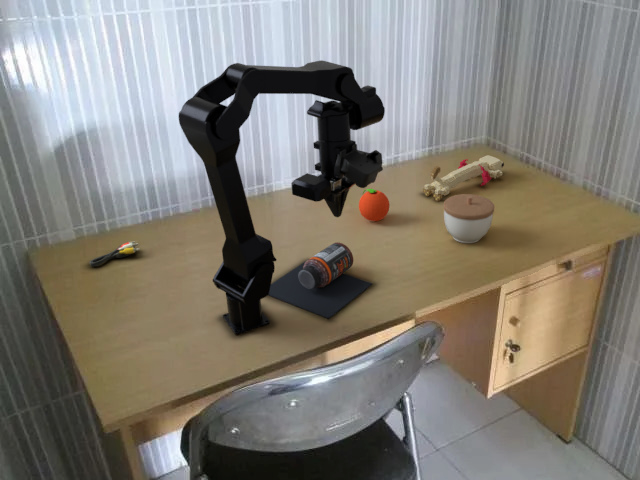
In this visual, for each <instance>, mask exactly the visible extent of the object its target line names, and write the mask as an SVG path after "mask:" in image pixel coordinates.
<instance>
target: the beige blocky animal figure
mask: <svg viewBox="0 0 640 480" xmlns="http://www.w3.org/2000/svg"><path fill="white" fill-rule="evenodd" d="M467 161H469V159H468V158H465V159H462V161H460V162H459V166H458V167H457V169H455V170H453V171H451V172H449V173H447V175H445V176H442V177H440V176H439V174H440V172H441V167H440V166H438V165H436V166H433V168H432V171H431V173H430V179H431V180H432V181H433V182H431V183H430V184H429V183H426V184H424V188H422V192H423V193H424V196H425V197H430V196H431V195H432V194H433V195H432V196H433V198H434V201H436V202H439V201H441V200H443V196H448V195H449V194H450V190H451V189H454V188H456V187H457V186H459V184H462V183H464V182H466V181H468V180H469V179H475V178H476V177H478V176H481V177H482V181H481V184H479V187H484V186H486V185H487V184H488V183H489V182H490V181H491V180H492V178H494V180H496V179H497V178H499V177H502V176H503V171H502V169H503V168H504V167H505V163H504V161H502V160H501V159H500V158H497V157H495V156H492V155H484V156H483V157H480V158H478V160H475V161H473V162H472V163H467ZM433 191H434V193H433Z"/></svg>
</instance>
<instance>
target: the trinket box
mask: <svg viewBox="0 0 640 480" xmlns="http://www.w3.org/2000/svg"><path fill="white" fill-rule="evenodd" d="M494 212H495V204H494V203H493V201H492V200H490V199H489V198H487V197H485V196H482V195H479V194H471V193H470V194H469V193H461V194H455V195H452V196H449V197H447V198H446V199H445V200H444V201H443V219H444V220H443V221H444V226H445V228H446V230H447V233H448V234H449V235H450V236H451V237H452V238H453V240H454V241H456V242H458V243H461V244H474V243H477V242H479V241H481V239H482V238H483V237H485V236H486V235H487V233H488V232H489V230H490V228H491V226H492V224H493V223H492V222H493V218H494Z"/></svg>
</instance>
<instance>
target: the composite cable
mask: <svg viewBox="0 0 640 480" xmlns="http://www.w3.org/2000/svg"><path fill="white" fill-rule="evenodd" d="M135 242H136V241H135V240H134V241H127V242H125V243H123V244H121V245H119V246H118V247H117V248H115V249H114V250H113V251H110V252H109V253H106V254H103V255H101V256H97V257H95V258H93V259H91V260H90V261H89V265H90V267H98V266H100V265H102V264H103V263H104V264H105V262H107V261H109V260H112V259H117V258H118V259H119V258H120V259H121V258H122V259H123V258H126V257H130V256H132V255H133V254H134V253H136V252H138V251H140V250H141V249H140V248H135V247H136V246H137V247H138V246H139V243H138V242H137V243H135Z"/></svg>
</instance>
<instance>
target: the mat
mask: <svg viewBox="0 0 640 480" xmlns="http://www.w3.org/2000/svg"><path fill="white" fill-rule="evenodd" d="M306 261H307V260H305V261H303V262H302V263H301V264H299V265H297V266H296V267H294V268H293V269H292V270H290V271H289V272H287V273H285V274H284V275H283V276H281V277H280V278H278V279H276V280H275V281H274V282H271V286H270V291H269V295H268V296H267V297H271V298H273V299H276V300H279V301H282V302H284V303H286V304H289V305H291V306H294V307H296V308H299V309H301V310H304V311H306V312H308V313H311V314H314V315H317V316H320V317H322V318H324V319H327V320H330V319H331V318H332V317H333V316H335V315H336V314H337V313H339V312H340V311H341V310H342V309H344V308H345V307H347V305H349V304H350V303H351V302H353V301H354V300H355V299H356V298H358V297H359V296H360V295H362V294H363V293H364V292H365V291H366V290H368V289H369V288H370V287H371V286H373V283H372V282H369V281H367V280H364V279H361V278H359V277H356V276H353V275H351V274H347V273H345V272H344V273H343V274H341V275H340V276H339V277H337V278H336V279H334V280H333V281H332V282H330V283H329V284H327V285H326V286H324V287H314V288H313V289H307V288H305V287H304V286H303V285H302V284H301V283H300V281H299V277H298V275H299V272H300V271H301V270H303V266H304V264H305V262H306Z"/></svg>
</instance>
